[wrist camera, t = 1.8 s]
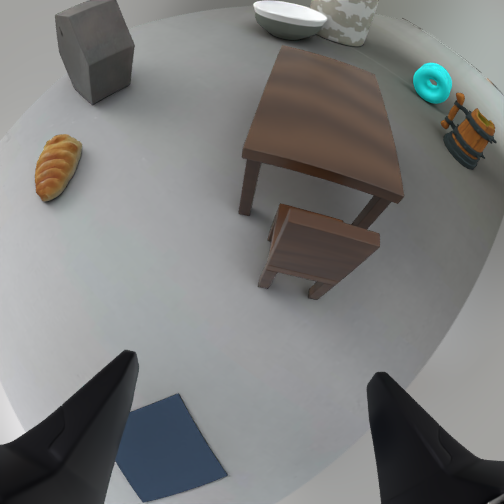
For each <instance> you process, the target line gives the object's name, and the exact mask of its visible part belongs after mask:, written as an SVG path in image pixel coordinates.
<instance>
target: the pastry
mask: <svg viewBox="0 0 504 504" xmlns="http://www.w3.org/2000/svg"><path fill="white" fill-rule="evenodd" d="M81 150H82V143H81V142H80V141H77V140H76V139H75V138H72V137H71V136H69V135H67V134H61V135H56V136H54V137H53V138H52V139H51V140H49V141H47V142H46V145H45V146H44V150H43V152H42V153H41V155H40V157H39V160H38V161H37V166H36V172H35V183H36V193H37V194H38V195H39V196H40V198H41V199H42V201H49V200H52V199H54V198H55V197H57V196H59V195H60V194H61V193H62V192H63V191H64V189H65V188H66V187H67V183H68V182H69V181H70V179H71V178H72V177H73V175H74V173H75V170H76V168H77V165H78V161H79V160H80V157H81Z"/></svg>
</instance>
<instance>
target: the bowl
mask: <svg viewBox="0 0 504 504" xmlns="http://www.w3.org/2000/svg"><path fill="white" fill-rule="evenodd" d="M253 6H254V8H255V18H256V20H257V22H258V23H259V24H260V25H261V26H262V27H263V28H264V29H266V30H267V31H268V32H269V33H270V34H272V35H273V36H276V37H279V38H283V39H288V40H299V39H301V38H306V37H310V36H312V35H315V34H316V33H318V32H319V31H320V30H321V28H322V26H323V24H324V23H325V22H326V21H327V17H326V16H325V15H323V14H322V13H320V12H318V11H315V10H313V9H310V8H308V7H304V6H301V5H297V4H293V3H287V2H281V1H258V2H255V3H254V5H253Z"/></svg>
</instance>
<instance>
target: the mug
mask: <svg viewBox="0 0 504 504" xmlns="http://www.w3.org/2000/svg"><path fill="white" fill-rule="evenodd" d="M456 97H457V101H455V103H454V104H455V105H454V106H453V107H452V109H451V110H450V112H449V115H448V116H446V117H445V120H443V121H441V125H442V127H443V128H445V129H448V127H449V125H451V127H452V128H453V131H451V132H449V133H447V134H446V135H445V136H444V142H445V145H446V147H447V148H448V150H449V151H450V153H451V154H452V155H453V156H454V157H455V159H456V160H457V161H459V162H460V163H461V164H462V165H463V166H465V167H466V168H468V169H472V170H473V169H474V168H475V167H476V166H477V162H478V161H479V160H480V157H482V158H484V159H485V157H484V156H483V150H484V148H485V147H486V145H487V144H488V142H490V143H491V144H492V141H493V142H494V143H497V142H496V141H495V140H494V137H493V136H494V135H493V134H494V133H495V126H494V124H493V123H492V121H488V120H487V119H486V118H485V117H484V116H483V115H482V114H481V113H480V112H479V110H478V108H477V109H475V110H474V111H473V112H471V111H469V112H468V110H467V109H466V108H465V107H463V106H462V105H463V103H464V99H465V97H464V94H462V93H456ZM459 109H461V110H462V111H463V112H464V113H465V114H466V119H465V120H464V121H463V122H462V123H461V124H460V125H458V124H457V125H458V126H455V125H454V123H453V121H452V120H453V119H454V117H455V115H456V114H457V112H458V110H459ZM478 159H479V160H478Z"/></svg>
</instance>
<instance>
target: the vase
mask: <svg viewBox="0 0 504 504" xmlns="http://www.w3.org/2000/svg"><path fill="white" fill-rule="evenodd" d="M378 1H379V0H312V2H311V6H310V9H313V10H315V11H318V12H320V13H322V14H323V15H325V16H326V17H327V21H326V22H325V23H324V24H323V26H322V28H321V30H320V31H319V32H318V33H316V35H319V36H321V37H323V38H326V39H328V40H331V41H334V42H337V43H340V44H344V45H348V46H355V47H359V46H362V45H363V44H364V41H365V39H366V36H367V33H368V31H369V28H370V25H371V22H372V19H373V16H374V13H375V10H376V7H377V4H378Z"/></svg>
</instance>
